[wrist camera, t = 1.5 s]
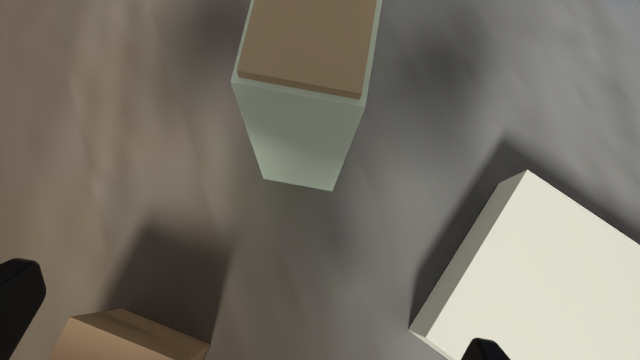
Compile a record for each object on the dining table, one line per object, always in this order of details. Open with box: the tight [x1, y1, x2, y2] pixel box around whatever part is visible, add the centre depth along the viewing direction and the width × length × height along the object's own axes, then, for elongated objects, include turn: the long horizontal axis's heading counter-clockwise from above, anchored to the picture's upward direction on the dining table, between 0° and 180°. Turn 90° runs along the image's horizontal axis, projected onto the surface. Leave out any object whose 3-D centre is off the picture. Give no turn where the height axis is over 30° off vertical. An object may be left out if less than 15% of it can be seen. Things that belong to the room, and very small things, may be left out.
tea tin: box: [230, 0, 382, 191], centre depth 18 cm, size 4×4×12 cm
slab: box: [408, 170, 640, 360], centre depth 21 cm, size 10×10×3 cm
